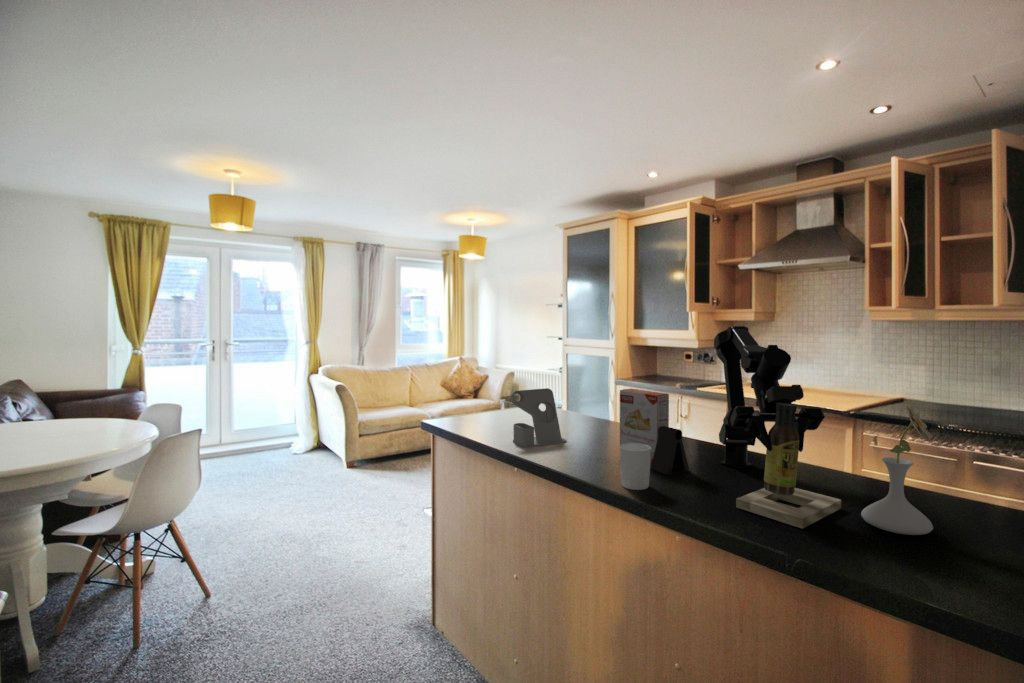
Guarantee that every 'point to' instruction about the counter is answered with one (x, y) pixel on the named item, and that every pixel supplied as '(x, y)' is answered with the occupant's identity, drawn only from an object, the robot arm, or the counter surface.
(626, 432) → the cracker box
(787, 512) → the board
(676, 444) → the door stopper
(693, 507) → the counter surface
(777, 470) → the sauce bottle
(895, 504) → the flower in vase
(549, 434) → the phone holder
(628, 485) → the white cup
